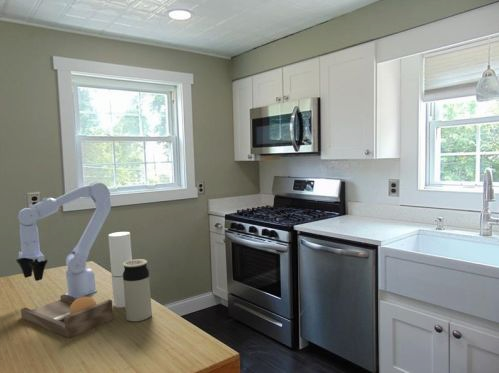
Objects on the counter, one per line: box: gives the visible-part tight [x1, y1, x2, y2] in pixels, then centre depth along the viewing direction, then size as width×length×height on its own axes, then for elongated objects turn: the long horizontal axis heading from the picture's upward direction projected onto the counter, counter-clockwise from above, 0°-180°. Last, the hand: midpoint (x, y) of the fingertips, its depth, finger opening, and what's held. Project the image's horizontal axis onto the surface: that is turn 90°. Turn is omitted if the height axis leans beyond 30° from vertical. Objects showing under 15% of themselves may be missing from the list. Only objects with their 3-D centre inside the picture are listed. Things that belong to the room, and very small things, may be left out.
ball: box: [69, 296, 98, 315], centre depth 120 cm, size 8×8×8 cm
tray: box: [20, 293, 114, 339], centre depth 124 cm, size 15×28×6 cm, turn 55°
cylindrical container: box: [107, 231, 133, 308], centre depth 133 cm, size 7×7×25 cm
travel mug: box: [123, 258, 153, 322], centre depth 122 cm, size 8×8×18 cm
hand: (33, 278), depth 138 cm, fingers open, 7 cm apart
